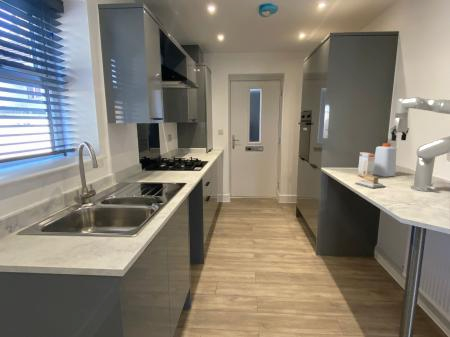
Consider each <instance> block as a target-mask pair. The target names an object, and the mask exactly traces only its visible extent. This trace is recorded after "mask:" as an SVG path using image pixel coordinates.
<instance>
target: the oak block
mask: <svg viewBox="0 0 450 337" xmlns="http://www.w3.org/2000/svg"><path fill="white" fill-rule="evenodd" d="M379 178H380V176H376V175H373V176H370V175H364V176H363V178H362V181H363V182H366V183H370V184H378V183H379Z"/></svg>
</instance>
